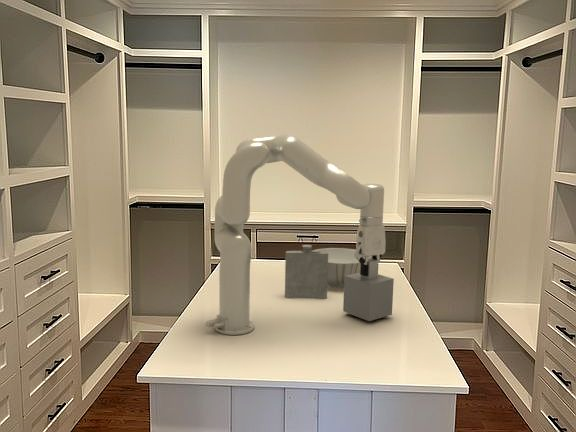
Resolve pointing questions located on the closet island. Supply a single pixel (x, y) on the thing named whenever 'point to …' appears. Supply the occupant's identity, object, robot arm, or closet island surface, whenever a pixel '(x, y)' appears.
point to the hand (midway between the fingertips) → (369, 273)
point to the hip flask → (306, 273)
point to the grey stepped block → (368, 294)
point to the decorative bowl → (340, 265)
